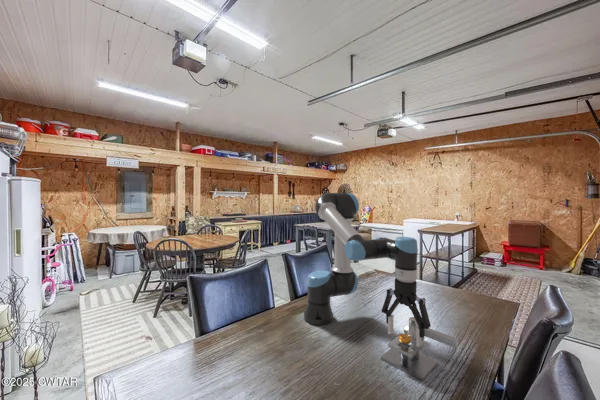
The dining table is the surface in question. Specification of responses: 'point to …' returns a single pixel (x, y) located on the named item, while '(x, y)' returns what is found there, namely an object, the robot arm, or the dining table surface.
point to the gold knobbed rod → (404, 341)
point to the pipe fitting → (406, 331)
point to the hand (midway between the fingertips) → (404, 338)
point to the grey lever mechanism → (416, 352)
